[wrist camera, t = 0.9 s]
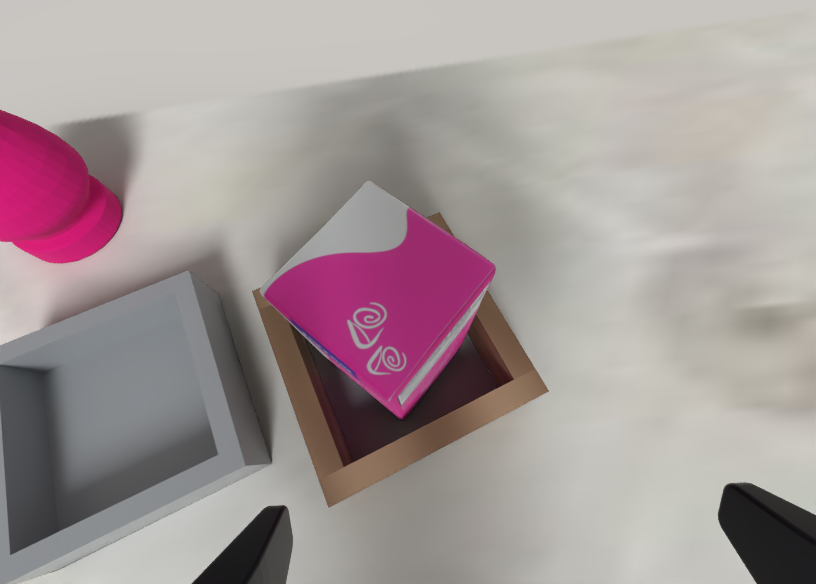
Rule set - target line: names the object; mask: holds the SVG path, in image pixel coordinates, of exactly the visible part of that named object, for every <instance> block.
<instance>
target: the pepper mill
mask: <svg viewBox="0 0 816 584" xmlns="http://www.w3.org/2000/svg"><path fill="white" fill-rule="evenodd" d="M121 217H122V213H121V205H120V202H119V200H118V199H117V197H116V196H115V195H114V194H113V193H112V192H111V191H110V190H108V189H107V188H106V187H105V186H104V185H103V184H102V183H100V182H99V181H98V180H97V179H95V178H94V177H92V176H90V175H88V169H87V167H86V164H85V162H84V160H83V159H82V157H81V156H80V155H79V154H78V152H77V151H76V150H75V149H74V148H72V147H71V146H70V145H69V144H67V143H66V142H65V141H63V140H62V139H61V138H59V137H58V136H57V135H55V134H53V133H51V132H50V131H48V130H46V129H44V128H42V127H40V126H39V125H37V124H35V123H32V122H30V121H27V120H25V119H23V118H20V117H18V116H15V115H13V114H10V113H7V112H5V111H2V110H0V241H2V242H12V243H13V244H14V245H15V246H17V247H18V248H20V249H22V250H24V251H25V252H27V253H29V254H31V255H33V256H35V257H37V258H39V259H41V260H44V261H47V262H50V263H68V262H74V261H78V260H81V259H83V258H85V257H88V256H90V255H92V254H93V253H95V252H97V251H98V250H100V249H101V248H102V247H103V246H104V245H105V244H106V243H107V242H108V241H109V240H110V239H111V238H112V237H113V235H114V234H115V232H116V231H117V229H118V227H119V224H120V220H121Z"/></svg>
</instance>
